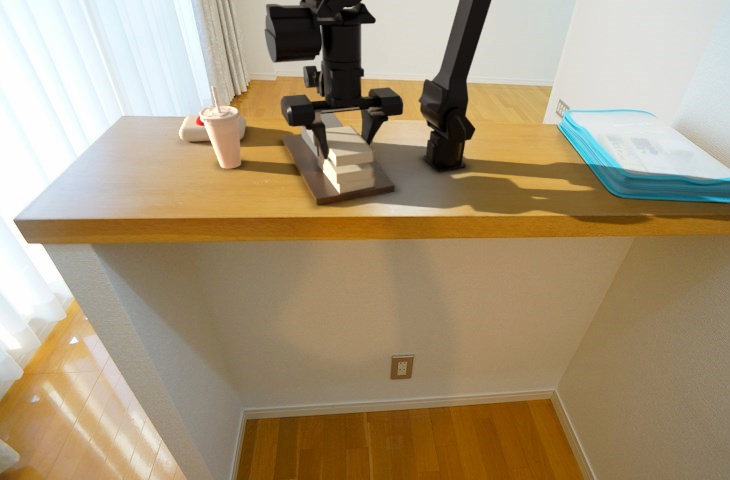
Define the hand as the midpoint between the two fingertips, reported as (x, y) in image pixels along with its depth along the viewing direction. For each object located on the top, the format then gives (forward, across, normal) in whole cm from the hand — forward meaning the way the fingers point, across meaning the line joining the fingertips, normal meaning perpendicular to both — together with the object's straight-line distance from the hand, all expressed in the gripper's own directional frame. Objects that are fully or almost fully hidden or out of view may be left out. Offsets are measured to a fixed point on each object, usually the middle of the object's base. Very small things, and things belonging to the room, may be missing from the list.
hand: (344, 156), depth 71 cm
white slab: (+5, +19, -28) cm, 34 cm away
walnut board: (+5, 0, -7) cm, 9 cm away
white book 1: (-1, 0, 0) cm, 1 cm away
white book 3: (+4, 0, 0) cm, 4 cm away
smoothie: (+5, +18, -13) cm, 23 cm away
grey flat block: (+1, 0, -13) cm, 13 cm away
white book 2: (+2, 0, 0) cm, 2 cm away
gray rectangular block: (+4, 0, -13) cm, 14 cm away
